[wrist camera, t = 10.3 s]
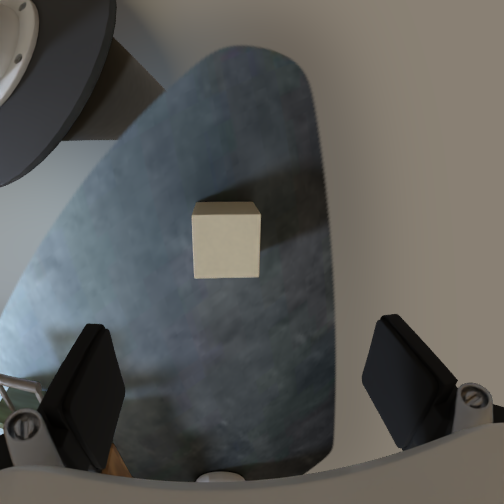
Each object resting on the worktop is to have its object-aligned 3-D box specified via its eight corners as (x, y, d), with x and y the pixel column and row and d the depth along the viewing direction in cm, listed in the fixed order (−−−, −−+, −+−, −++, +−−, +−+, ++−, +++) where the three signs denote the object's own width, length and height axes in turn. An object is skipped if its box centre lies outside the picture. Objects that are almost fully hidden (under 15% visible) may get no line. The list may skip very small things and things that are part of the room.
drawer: (-6, 348, 25) (-33, 383, 18) (68, 359, 26) (45, 404, 20) (49, 445, 31) (37, 478, 25) (115, 459, 32) (107, 496, 26)
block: (197, 255, 25) (194, 278, 21) (196, 201, 23) (191, 214, 19) (251, 254, 25) (259, 277, 21) (253, 201, 24) (261, 214, 20)
